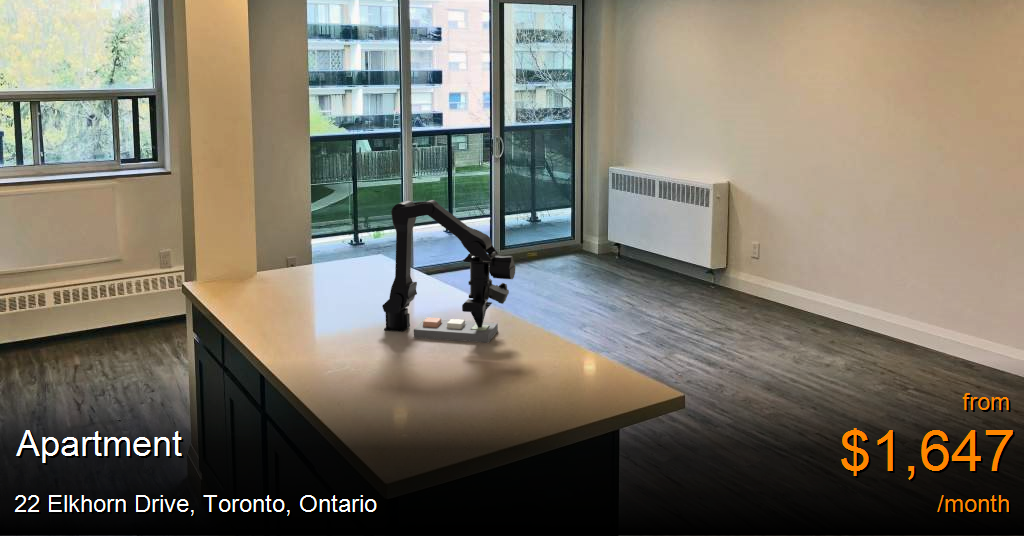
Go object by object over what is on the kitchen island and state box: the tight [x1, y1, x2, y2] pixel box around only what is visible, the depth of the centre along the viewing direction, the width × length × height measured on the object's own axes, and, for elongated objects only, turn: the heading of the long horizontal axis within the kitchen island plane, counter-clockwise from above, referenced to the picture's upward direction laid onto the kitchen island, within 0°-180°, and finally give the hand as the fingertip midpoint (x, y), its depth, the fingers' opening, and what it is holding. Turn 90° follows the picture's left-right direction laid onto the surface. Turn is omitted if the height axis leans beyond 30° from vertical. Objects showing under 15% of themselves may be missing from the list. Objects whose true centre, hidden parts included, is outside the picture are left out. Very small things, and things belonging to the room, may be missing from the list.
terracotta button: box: [422, 316, 442, 327], centre depth 288 cm, size 4×4×2 cm
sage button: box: [471, 325, 489, 331], centre depth 285 cm, size 4×4×2 cm
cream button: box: [447, 318, 466, 329], centre depth 286 cm, size 4×4×2 cm
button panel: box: [413, 317, 499, 344], centre depth 286 cm, size 23×12×2 cm, turn 78°
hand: (480, 327), depth 285 cm, fingers closed, pressing on sage button
